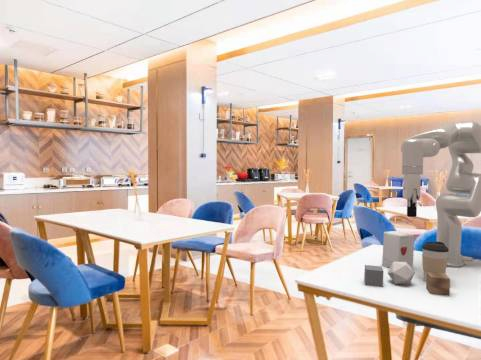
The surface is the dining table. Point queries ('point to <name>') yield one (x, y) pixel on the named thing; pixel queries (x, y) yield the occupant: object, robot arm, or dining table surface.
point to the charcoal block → (373, 276)
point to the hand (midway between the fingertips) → (411, 216)
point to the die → (401, 273)
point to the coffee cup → (434, 258)
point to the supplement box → (398, 248)
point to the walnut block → (438, 284)
